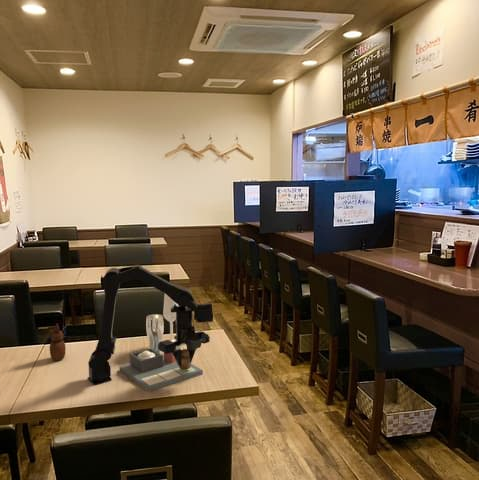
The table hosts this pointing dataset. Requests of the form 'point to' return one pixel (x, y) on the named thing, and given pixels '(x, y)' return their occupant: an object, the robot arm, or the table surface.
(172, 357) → the red die
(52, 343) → the wooden figurine
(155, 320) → the beer glass
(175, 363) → the game board
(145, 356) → the dome button
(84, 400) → the table surface
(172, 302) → the champagne flute
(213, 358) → the table surface
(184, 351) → the walnut pawn
